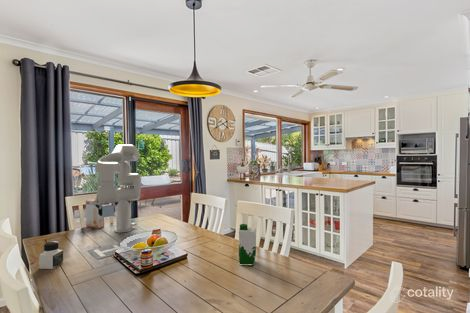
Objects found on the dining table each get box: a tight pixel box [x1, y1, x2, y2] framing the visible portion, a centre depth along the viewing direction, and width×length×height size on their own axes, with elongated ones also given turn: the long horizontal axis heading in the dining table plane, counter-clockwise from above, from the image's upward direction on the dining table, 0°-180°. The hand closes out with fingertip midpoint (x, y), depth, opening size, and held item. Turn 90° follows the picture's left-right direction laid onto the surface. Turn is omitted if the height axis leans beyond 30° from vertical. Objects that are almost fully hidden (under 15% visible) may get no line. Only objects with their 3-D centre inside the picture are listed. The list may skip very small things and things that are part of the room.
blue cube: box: [101, 203, 115, 219], centre depth 147 cm, size 6×6×6 cm
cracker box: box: [85, 198, 105, 230], centre depth 194 cm, size 14×6×21 cm, turn 65°
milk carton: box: [238, 223, 257, 265], centre depth 132 cm, size 9×9×20 cm
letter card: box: [87, 242, 121, 260], centre depth 147 cm, size 18×17×1 cm
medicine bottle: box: [38, 240, 64, 270], centre depth 127 cm, size 7×7×12 cm
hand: (106, 214), depth 147 cm, fingers closed on blue cube, 6 cm apart
